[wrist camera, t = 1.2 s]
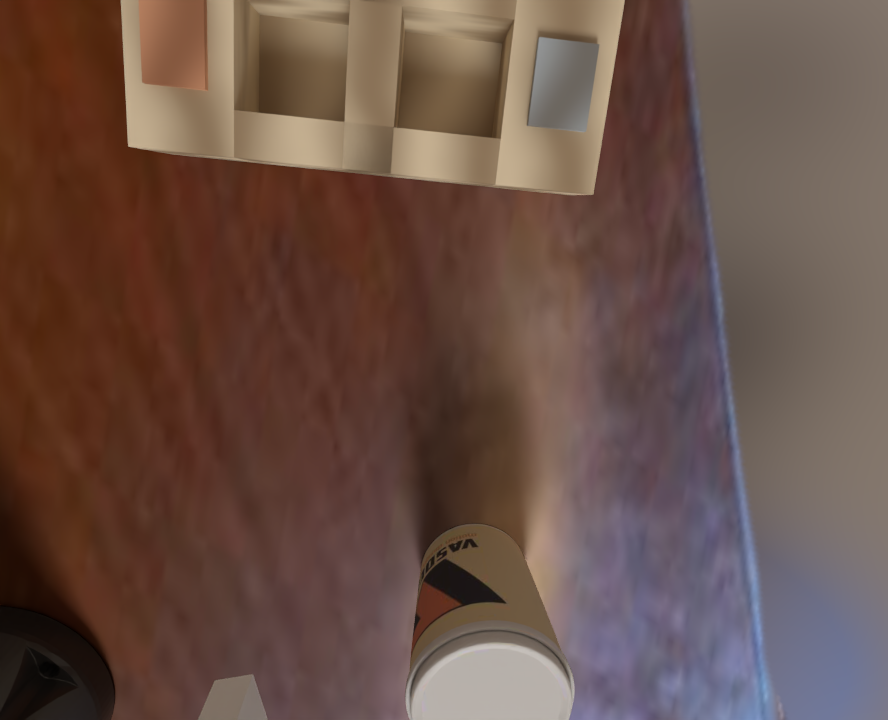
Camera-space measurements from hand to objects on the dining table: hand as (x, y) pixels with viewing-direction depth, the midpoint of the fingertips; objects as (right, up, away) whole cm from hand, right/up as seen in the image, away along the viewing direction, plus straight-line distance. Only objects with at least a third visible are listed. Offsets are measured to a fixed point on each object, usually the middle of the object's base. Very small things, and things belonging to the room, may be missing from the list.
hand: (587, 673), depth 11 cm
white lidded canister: (-1, -9, +31) cm, 32 cm away
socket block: (-7, +22, +21) cm, 32 cm away
